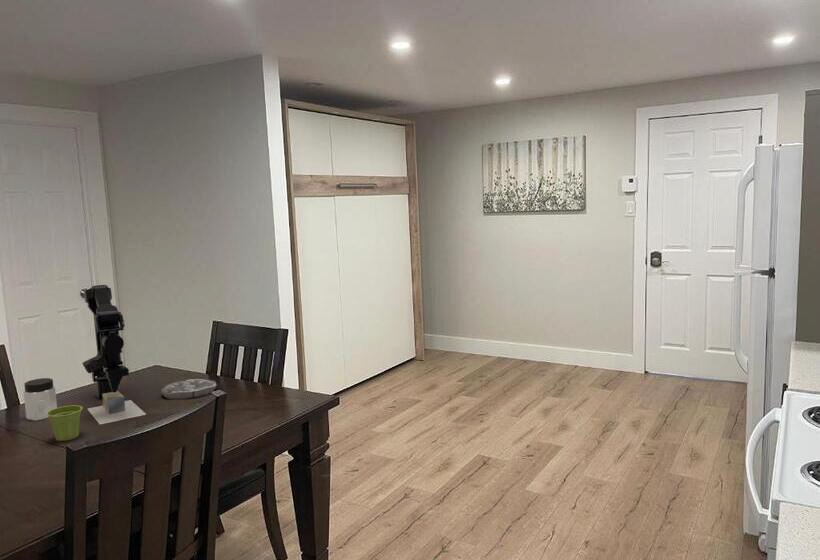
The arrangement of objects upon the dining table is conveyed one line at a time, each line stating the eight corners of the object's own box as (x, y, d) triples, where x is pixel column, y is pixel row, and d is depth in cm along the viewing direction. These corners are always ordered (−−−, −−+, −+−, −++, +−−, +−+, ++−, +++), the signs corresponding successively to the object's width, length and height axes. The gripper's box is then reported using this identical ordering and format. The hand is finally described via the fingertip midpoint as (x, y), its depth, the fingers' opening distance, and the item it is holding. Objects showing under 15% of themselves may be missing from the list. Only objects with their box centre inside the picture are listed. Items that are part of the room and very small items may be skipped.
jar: (26, 422, 197) (23, 386, 196) (26, 415, 204) (22, 381, 203) (58, 416, 202) (55, 381, 201) (56, 410, 209) (53, 376, 207)
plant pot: (60, 446, 177) (57, 417, 176) (42, 440, 182) (40, 412, 181) (91, 435, 185) (88, 408, 184) (74, 430, 190) (71, 403, 188)
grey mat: (87, 409, 209) (87, 408, 209) (130, 401, 217) (130, 400, 217) (100, 425, 193) (99, 424, 193) (146, 415, 202) (146, 414, 202)
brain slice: (209, 383, 238) (209, 376, 238) (220, 394, 224) (220, 386, 223) (156, 392, 228) (155, 384, 228) (164, 404, 214) (163, 396, 213)
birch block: (109, 414, 202) (103, 407, 209) (125, 410, 206) (119, 404, 212) (107, 399, 202) (102, 393, 209) (124, 396, 205) (117, 390, 212)
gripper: (78, 346, 205) (82, 390, 207) (89, 356, 191) (93, 404, 193) (113, 340, 212) (117, 384, 214) (127, 350, 197) (131, 396, 199)
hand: (114, 392), depth 205 cm, fingers closed
